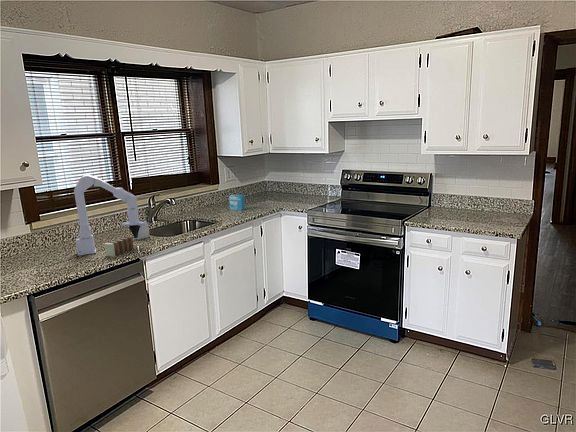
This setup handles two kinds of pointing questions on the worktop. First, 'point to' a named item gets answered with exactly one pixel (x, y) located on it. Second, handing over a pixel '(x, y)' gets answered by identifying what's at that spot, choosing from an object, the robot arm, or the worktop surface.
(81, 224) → the robot arm
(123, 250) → the tile
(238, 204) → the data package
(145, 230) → the medicine box
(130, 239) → the head tile
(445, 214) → the worktop surface
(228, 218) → the worktop surface
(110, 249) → the tile
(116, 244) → the tile
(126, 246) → the tile
